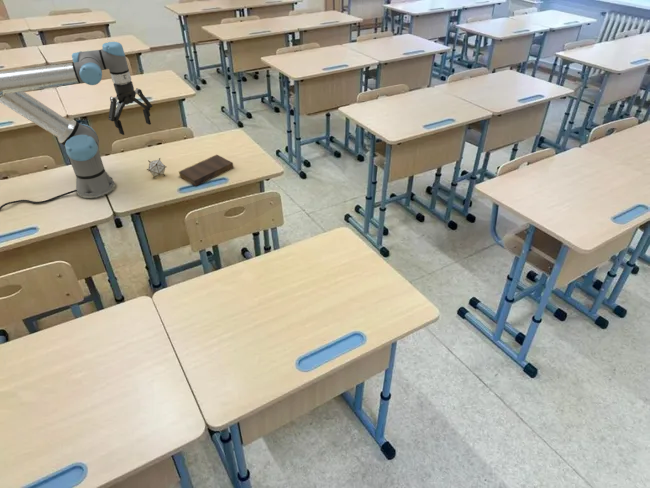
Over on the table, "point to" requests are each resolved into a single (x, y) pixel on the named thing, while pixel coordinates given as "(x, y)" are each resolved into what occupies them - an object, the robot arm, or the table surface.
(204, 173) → the walnut board
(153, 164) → the grey spiked polyhedron
